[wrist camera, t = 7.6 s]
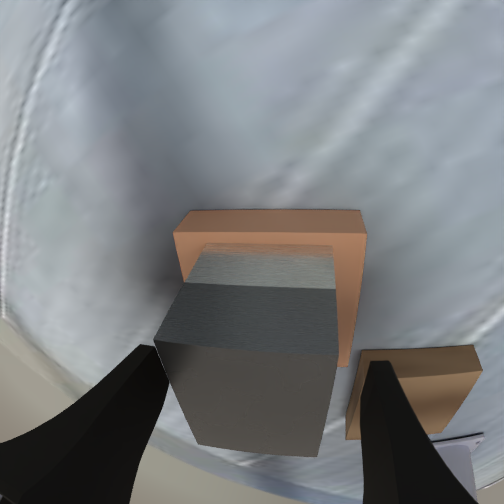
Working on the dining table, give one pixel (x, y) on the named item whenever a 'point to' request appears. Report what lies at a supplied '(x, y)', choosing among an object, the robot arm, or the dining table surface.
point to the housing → (255, 346)
